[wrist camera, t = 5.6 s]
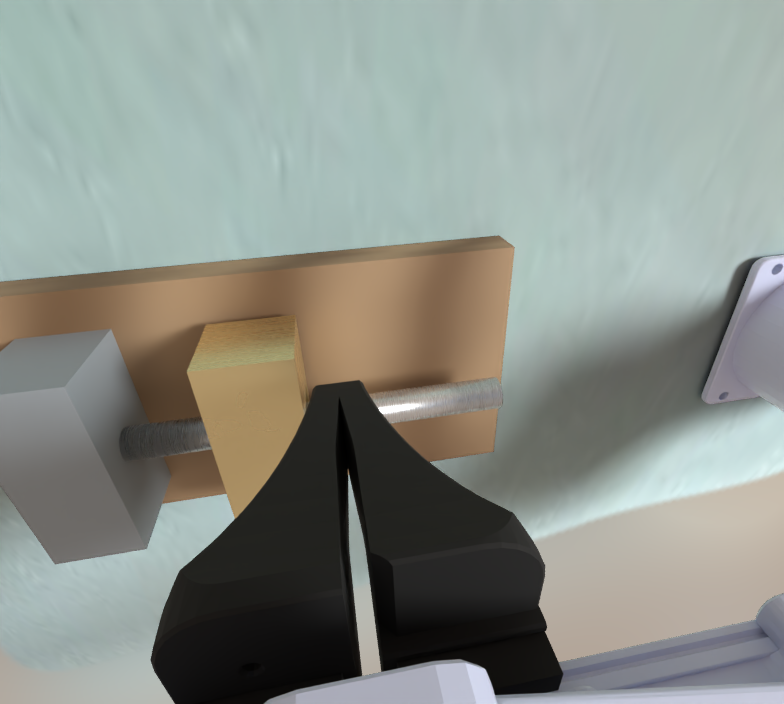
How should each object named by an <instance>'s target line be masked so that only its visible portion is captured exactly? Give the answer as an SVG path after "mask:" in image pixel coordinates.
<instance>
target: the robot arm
mask: <svg viewBox="0 0 784 704" xmlns="http://www.w3.org/2000/svg"><path fill="white" fill-rule="evenodd" d="M755 397H762V398H764V399H765V400H767V401H768V402H770V403H771V404H773V405H774V406H776V407H777V408H779V409H780V410H782V411H783V412H784V255H778V256H769V257H763V258H760V259H759V260H757V261H756V262H755V263H754V264H753V265H752V267H751V269H750V272H749V274H748V277H747V279H746V282H745V284H744V287H743V290H742V292H741V295H740V297H739V300H738V302H737V305H736V308H735V310H734V313H733V315H732V318H731V320H730V323H729V326H728V328H727V331H726V333H725V336H724V338H723V341H722V344H721V346H720V349H719V351H718V354H717V356H716V359H715V361H714V364H713V367H712V369H711V372H710V374H709V377H708V379H707V382H706V385H705V387H704V390H703V392H702V396H701V398H702V400H703V401H705V402H706V403H708V404H716V403H722V402H729V401H736V400H742V399H749V398H755ZM348 471H349V475H350V480H351V484H352V489H353V493H354V497H355V502H356V506H357V511H358V515H359V519H360V524H361V528H362V533H363V537H364V543H365V548H366V555H367V563H368V571H369V578H370V586H371V593H372V602H373V609H374V616H375V624H376V633H377V640H378V648H379V656H380V664H381V672H379V673H374V674H369V675H365V676H362V670H361V661H360V651H359V642H358V632H357V622H356V613H355V603H354V593H353V584H352V574H351V564H350V554H349V518H348ZM544 577H545V564H544V562H543V560H542V558H541V555H540V553H539V551H538V549H537V547H536V546H535V544H534V542H533V540H532V539H531V537H530V536H529V534H528V533H527V532H526V530H525V529H524V527H523V526H522V524H521V523H520V522H519V520H518V519H517V517H516V516H515V515H514V514H513V513H512V512H510V511H508V510H506V509H504V508H502V507H500V506H498V505H496V504H494V503H492V502H490V501H488V500H486V499H484V498H482V497H480V496H478V495H476V494H475V493H473V492H471V491H470V490H468V489H466V488H465V487H463V486H461V485H460V484H458V483H457V482H456V481H454V480H453V479H451V478H450V477H448V476H447V475H445V474H444V473H443V472H441V471H440V470H438V469H437V468H436V467H435V466H433V465H432V464H431V463H430V462H428V461H427V460H426V459H425V458H424V457H423V456H421V455H420V454H419V453H418V452H417V451H416V450H415V449H414V448H413V447H412V446H411V445H409V444H408V443H407V442H406V441H405V439H404V438H403V437H402V436H401V435H400V434H399V433H398V432H397V431H396V430H395V429H394V427H393V426H392V425H391V424H390V423H389V422H388V420H387V419H386V418H385V417H384V415H383V414H382V413H381V411H380V410H379V409H378V407H377V406H376V405H375V403H374V402H373V400H372V399H371V397H370V395H369V394H368V392H367V390H366V388H365V386H364V384H363V383H362V382H361V381H360V380H355V381H347V382H339V383H332V384H324V385H316V386H315V387H314V388H313V390H312V395H311V398H310V401H309V404H308V407H307V409H306V412H305V415H304V417H303V419H302V421H301V423H300V426H299V428H298V430H297V432H296V434H295V436H294V438H293V440H292V442H291V443H290V445H289V447H288V449H287V451H286V452H285V454H284V456H283V458H282V459H281V461H280V462H279V464H278V465H277V467H276V469H275V470H274V471H273V473H272V474H271V476H270V477H269V479H268V480H267V481H266V483H265V484H264V485H263V487H262V488H261V489H260V491H259V492H258V493H257V494H256V496H255V497H254V498H253V500H252V501H251V502H250V503H249V504H248V505H247V507H246V508H245V509H244V510H243V511H242V512H241V513H240V514H239V515H238V517H237V518H236V519H235V520H234V521H233V522H232V523H231V524H230V525H229V526H228V527H227V528H226V529H225V530H224V531H223V532H222V533H221V534H220V535H219V536H218V537H217V538H216V539H215V540H214V541H213V542H212V543H211V544H210V545H209V546H208V547H206V548H205V549H204V550H203V551H202V552H201V553H200V554H198V555H197V556H196V557H195V558H194V559H193V560H192V561H190V562H189V563H188V564H187V565H186V566H184V567H183V568H182V569H181V570H180V571H179V573H178V575H177V578H176V580H175V582H174V585H173V587H172V589H171V592H170V595H169V597H168V599H167V602H166V604H165V607H164V610H163V613H162V616H161V619H160V623H159V627H158V631H157V635H156V639H155V643H154V646H153V651H152V656H151V663H152V666H153V669H154V671H155V673H156V675H157V676H158V678H159V679H160V681H161V683H162V684H163V686H164V687H165V689H166V690H167V692H168V694H169V695H170V697H171V698H172V700H173V701H174V703H175V704H784V593H782V594H779V595H777V596H774V597H772V598H771V599H769V600H767V601H766V602H765V603H764V604H763V605H762V606H761V608H760V609H759V611H758V613H757V615H756V620H751V621H747V622H742V623H738V624H733V625H729V626H724V627H720V628H715V629H711V630H705V631H701V632H697V633H692V634H687V635H683V636H678V637H673V638H669V639H664V640H660V641H655V642H650V643H646V644H641V645H637V646H632V647H628V648H623V649H618V650H614V651H609V652H604V653H600V654H596V655H591V656H586V657H581V658H577V659H572V660H567V661H563V662H558V660H557V658H556V656H555V653H554V651H553V649H552V647H551V644H550V642H549V640H548V638H547V635H546V633H545V631H546V629H547V625H546V621H545V619H544V616H543V614H542V612H541V610H540V608H539V606H538V604H539V600H540V595H541V591H542V586H543V582H544Z"/></svg>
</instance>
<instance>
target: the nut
mask: <svg viewBox="0 0 784 704" xmlns="http://www.w3.org/2000/svg"><path fill="white" fill-rule="evenodd" d="M187 375H188V378H189V381H190V384H191V387H192V390H193V393H194V396H195V399H196V402H197V405H198V408H199V411H200V414H201V417H202V420H203V423H204V426H205V429H206V432H207V435H208V438H209V441H210V444H211V447H212V451H213V454H214V457H215V460H216V463H217V466H218V469H219V472H220V475H221V478H222V481H223V484H224V487H225V490H226V493H227V496H228V499H229V502H230V505H231V508H232V511H233V514H234V517H235V519H236V518H237V517H238V515H239V514H240V513H241V512H242V511H243V510H244V509H245V508H246V507H247V505H248V504H249V503H250V502H251V501H252V500H253V498H254V497H255V496H256V494H257V493H258V492H259V491H260V489H261V488H262V487H263V485H264V484H265V483H266V481H267V480H268V479H269V477H270V476H271V474H272V473H273V471H274V470H275V469H276V467H277V465H278V464H279V462H280V461H281V459H282V458H283V456H284V454H285V452H286V451H287V449H288V447H289V445H290V443H291V442H292V440H293V438H294V436H295V434H296V432H297V430H298V428H299V426H300V423H301V421H302V419H303V417H304V415H305V412H306V402H309V401H310V399H309V393H308V387H307V381H306V375H305V369H304V363H303V357H302V351H301V345H300V339H299V333H298V328H297V322H296V316H295V315H290V316H280V317H271V318H262V319H253V320H244V321H235V322H226V323H217V324H207V325H206V326H205V328H204V331H203V333H202V336H201V338H200V341H199V343H198V346H197V348H196V350H195V353H194V355H193V358H192V360H191V363H190V365H189V367H188V370H187Z"/></svg>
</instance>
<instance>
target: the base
mask: <svg viewBox="0 0 784 704" xmlns="http://www.w3.org/2000/svg"><path fill="white" fill-rule="evenodd" d="M514 248H515V247H514V246H512V245H511V244H510V243H508V242H507V241H506V240H504V239H503V238H502V237H500V236H491V237H480V238H469V239H458V240H447V241H437V242H426V243H415V244H404V245H393V246H383V247H372V248H361V249H350V250H339V251H329V252H318V253H307V254H296V255H286V256H275V257H264V258H253V259H242V260H232V261H221V262H210V263H199V264H188V265H178V266H167V267H156V268H145V269H134V270H124V271H113V272H102V273H91V274H80V275H70V276H59V277H48V278H37V279H27V280H16V281H5V282H0V486H1V487H2V488H3V490H4V491H5V493H6V494H7V496H8V497H9V499H10V500H11V501H12V503H13V504H14V506H15V507H16V509H17V510H18V512H19V513H20V514H21V516H22V517H23V519H24V520H25V522H26V523H27V525H28V526H29V527H30V529H31V530H32V532H33V533H34V535H35V536H36V537H37V539H38V540H39V542H40V543H41V545H42V546H43V548H44V549H45V550H46V552H47V553H48V555H49V556H50V558H51V559H52V561H53V562H54V563H55V564H59V563H65V562H71V561H77V560H83V559H89V558H95V557H101V556H107V555H113V554H119V553H125V552H131V551H137V550H143V549H147V546H148V543H149V540H150V537H151V535H152V532H153V529H154V526H155V523H156V520H157V517H158V514H159V511H160V508H161V505H162V504H163V503H170V502H176V501H182V500H189V499H195V498H201V497H208V496H214V495H221V494H227V493H226V490H225V487H224V484H223V481H222V478H221V475H220V472H219V469H218V466H217V463H216V460H215V457H214V454H213V451H212V447H211V444H210V441H209V438H208V435H207V432H206V429H205V426H204V423H203V420H202V417H201V414H200V411H199V408H198V405H197V402H196V399H195V396H194V393H193V390H192V387H191V384H190V381H189V378H188V375H187V370H188V367H189V365H190V363H191V360H192V358H193V355H194V353H195V350H196V348H197V346H198V343H199V341H200V338H201V336H202V333H203V331H204V328H205V326H206V325H207V324H217V323H226V322H235V321H244V320H253V319H262V318H271V317H280V316H290V315H295V316H296V322H297V328H298V333H299V339H300V345H301V351H302V357H303V363H304V369H305V375H306V381H307V387H308V393H309V399H310V398H311V395H312V390H313V388H314V387H315V386H316V385H324V384H332V383H339V382H347V381H355V380H360V381H361V382H362V383H363V384H364V386H365V388H366V390H367V392H368V394H369V395H370V397H371V399H372V400H373V402H374V403H375V405H376V406H377V407H378V409H379V410H380V411H381V413H382V414H383V415H384V417H385V418H386V419H387V420H388V422H389V423H390V424H391V425H392V426H393V427H394V429H395V430H396V431H397V432H398V433H399V434H400V435H401V436H402V437H403V438H404V439H405V441H406V442H407V443H408V444H409V445H411V446H412V447H413V448H414V449H415V450H416V451H417V452H418V453H419V454H420V455H421V456H423V457H424V458H425V459H426V460H427V461H428V462H431V461H437V460H444V459H450V458H456V457H463V456H469V455H476V454H482V453H488V452H494V442H495V433H496V423H497V413H498V408H501V406H502V403H503V394H502V388H501V385H500V384H501V374H502V364H503V355H504V345H505V335H506V326H507V316H508V306H509V296H510V287H511V277H512V267H513V258H514ZM308 404H309V402H306V409H307V407H308ZM348 474H349V471H348Z"/></svg>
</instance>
